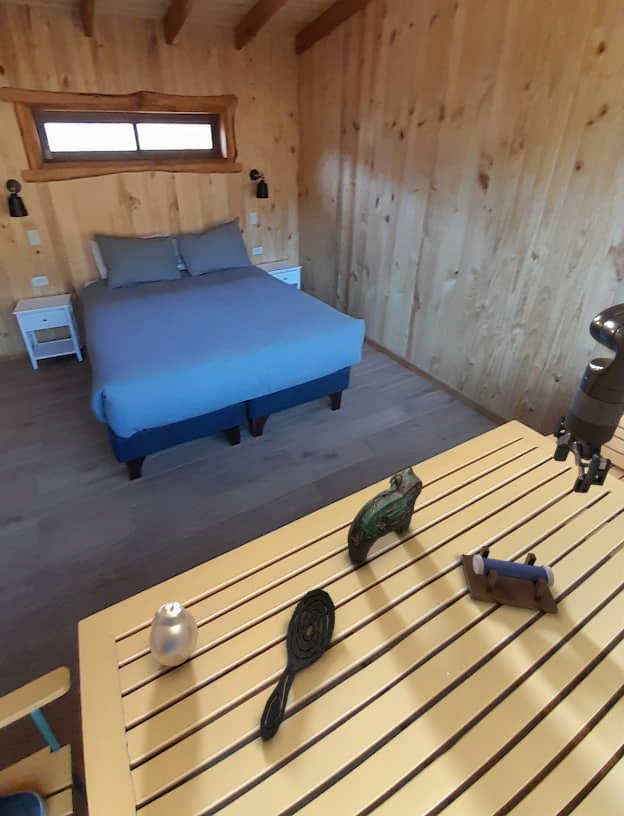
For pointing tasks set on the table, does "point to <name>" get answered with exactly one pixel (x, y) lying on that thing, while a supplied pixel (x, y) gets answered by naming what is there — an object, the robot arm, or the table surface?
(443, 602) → the table surface
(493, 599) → the holder
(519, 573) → the handle
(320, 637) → the hairbrush
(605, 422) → the robot arm
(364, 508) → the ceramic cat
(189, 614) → the silver rounded egg shape
